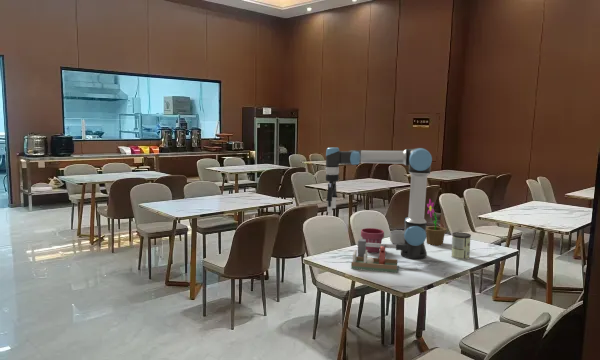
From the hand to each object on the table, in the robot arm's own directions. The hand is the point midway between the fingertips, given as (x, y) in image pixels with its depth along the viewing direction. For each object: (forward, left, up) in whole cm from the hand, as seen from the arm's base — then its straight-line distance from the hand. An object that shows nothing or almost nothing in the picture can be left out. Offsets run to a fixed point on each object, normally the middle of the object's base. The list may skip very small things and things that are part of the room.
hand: (331, 210), depth 262 cm
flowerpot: (-62, -46, -28) cm, 82 cm away
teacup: (-38, -41, -28) cm, 63 cm away
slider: (-30, +12, -26) cm, 41 cm away
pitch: (-27, +13, -27) cm, 40 cm away
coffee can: (-75, -17, -28) cm, 82 cm away
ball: (-24, +16, -24) cm, 37 cm away
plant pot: (-23, -17, -28) cm, 40 cm away
